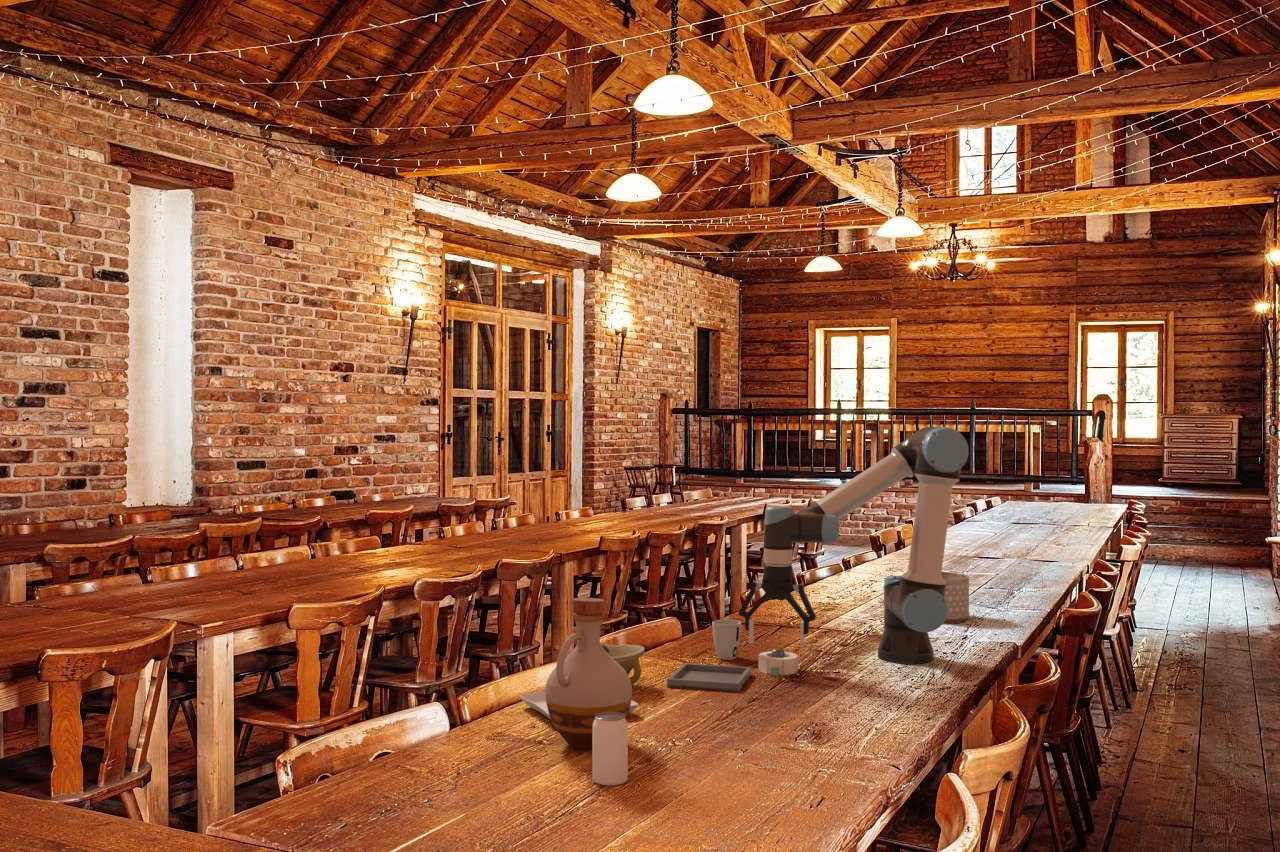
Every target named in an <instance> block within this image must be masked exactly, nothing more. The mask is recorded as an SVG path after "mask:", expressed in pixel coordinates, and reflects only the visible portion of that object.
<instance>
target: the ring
mask: <svg viewBox="0 0 1280 852" xmlns="http://www.w3.org/2000/svg"><path fill="white" fill-rule="evenodd" d="M757 657H758V670H757V671H759V672H761V673H763V674H765V675H770V676H771V677H773V676H774V677H779V676H788V675H793V674H797V672H798V671H799V655H798V654H797V653H794V652H790V651H784V658H773V657H772V650H768V651H762V652H760V653H759V654H758V655H757Z"/></svg>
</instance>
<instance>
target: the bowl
mask: <svg viewBox="0 0 1280 852" xmlns="http://www.w3.org/2000/svg"><path fill="white" fill-rule="evenodd" d="M601 647H602V648H603V649H604V650H605V651H606V652H607V653H608V654H609V655H610V656H611V657H612V658H613V659H614V660H615V661H616V662H617V663H618V664H619V665H620V666H621V667H622V668H623V669H624V670H625V671H626V673H627V675H628V676H629V675H630V672H632V670H633V671H634V672H633V674H632V676H631V677H630V676H629V678H630V680H631V685H632V686H633V685H634V684H636V683H637V682H638V681H639V680H640V678H641V675H642V667H641V664H640V660H639V659H640V658H641V657H642V656H643V655H644V653H645V650H646V648H645V647H644V646H641V645H637V644H608V645H605V644H604V645H601Z"/></svg>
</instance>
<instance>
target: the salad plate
mask: <svg viewBox="0 0 1280 852" xmlns="http://www.w3.org/2000/svg"><path fill="white" fill-rule="evenodd" d="M519 698H520V700H521V701H522V702H523V703H524V704H525V705H527V706H528V707H531V708H532V709H533V710H535V711H537V712H539V713H540V714H542V715H543V716H545V717H547V718H548V719H549V720H551V718H550V715H549V712H548V708H547V704H546V698H545V690H544V691H539V692H538V691H537V692H532V693H524V694H520V695H519ZM638 707H639V703H638V702H636V701H634V700H633V699H631V704H630V709H629V713H631V712H633V711H634V710H636V708H638Z"/></svg>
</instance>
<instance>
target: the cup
mask: <svg viewBox="0 0 1280 852" xmlns="http://www.w3.org/2000/svg"><path fill="white" fill-rule="evenodd" d="M711 624H712V638H713V644H714V650H715V653H716V656H717V659H718V658H719V659H718V660H721V659H723V661H732V660H736V659H737V656H738V653H739V649H740V645H741V644H740V642H741V638H742V637H741V636H742V635H741V634H742V621H741V620H736V619H716V620H713V621H712V622H711Z"/></svg>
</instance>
